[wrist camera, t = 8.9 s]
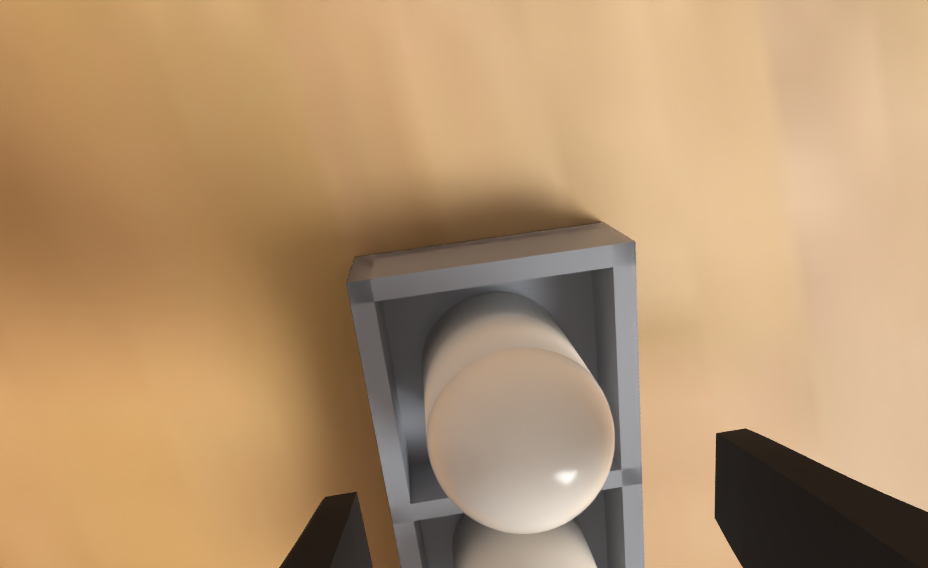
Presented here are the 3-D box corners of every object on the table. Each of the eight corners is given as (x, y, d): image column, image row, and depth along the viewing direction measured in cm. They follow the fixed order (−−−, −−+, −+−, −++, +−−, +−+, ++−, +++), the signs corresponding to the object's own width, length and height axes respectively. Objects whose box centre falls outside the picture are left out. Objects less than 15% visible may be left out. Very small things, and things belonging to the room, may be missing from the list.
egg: (433, 434, 18) (445, 596, 12) (411, 303, 17) (414, 414, 11) (570, 412, 18) (648, 561, 12) (560, 281, 17) (643, 378, 11)
